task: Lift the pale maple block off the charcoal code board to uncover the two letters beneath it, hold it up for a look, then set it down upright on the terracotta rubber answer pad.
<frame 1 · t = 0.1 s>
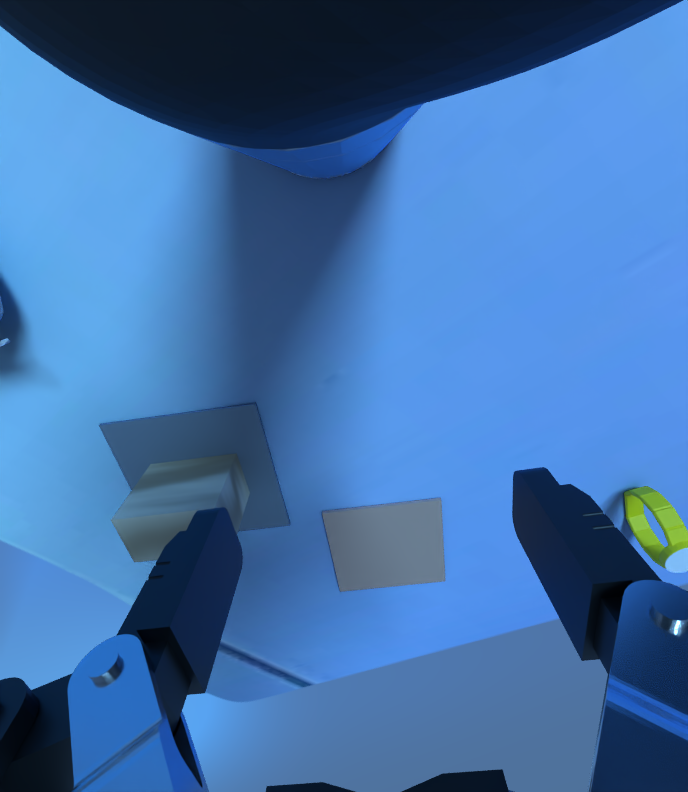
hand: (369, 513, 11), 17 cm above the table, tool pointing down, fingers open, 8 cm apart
watch: (631, 501, 34), on the table
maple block: (201, 478, 32), resting on code board
answer pad: (386, 546, 36), on the table
code board: (202, 477, 32), on the table
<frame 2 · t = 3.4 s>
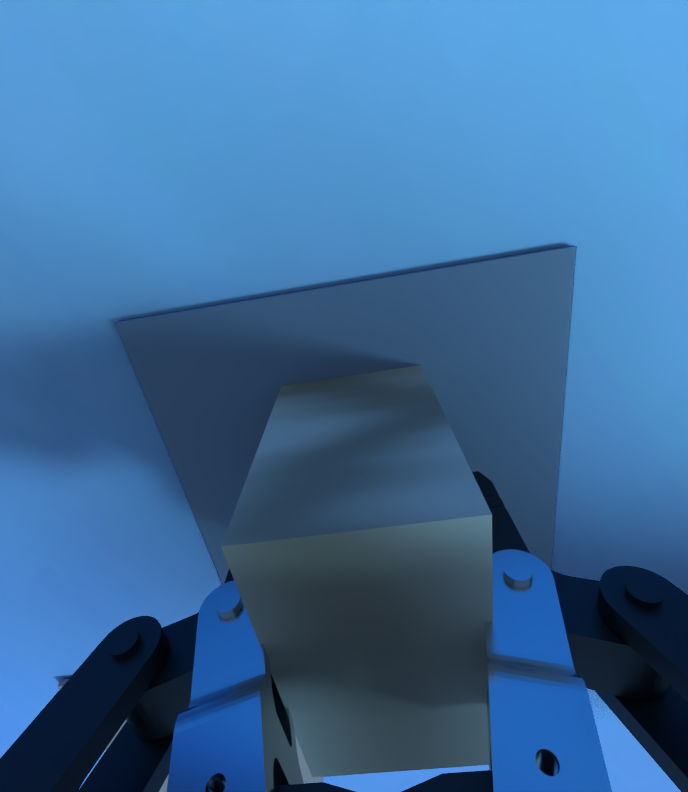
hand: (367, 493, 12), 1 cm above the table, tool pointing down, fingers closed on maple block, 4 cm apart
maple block: (367, 475, 13), resting on code board, touching gripper
answer pad: (204, 730, 19), on the table
code board: (367, 472, 13), on the table
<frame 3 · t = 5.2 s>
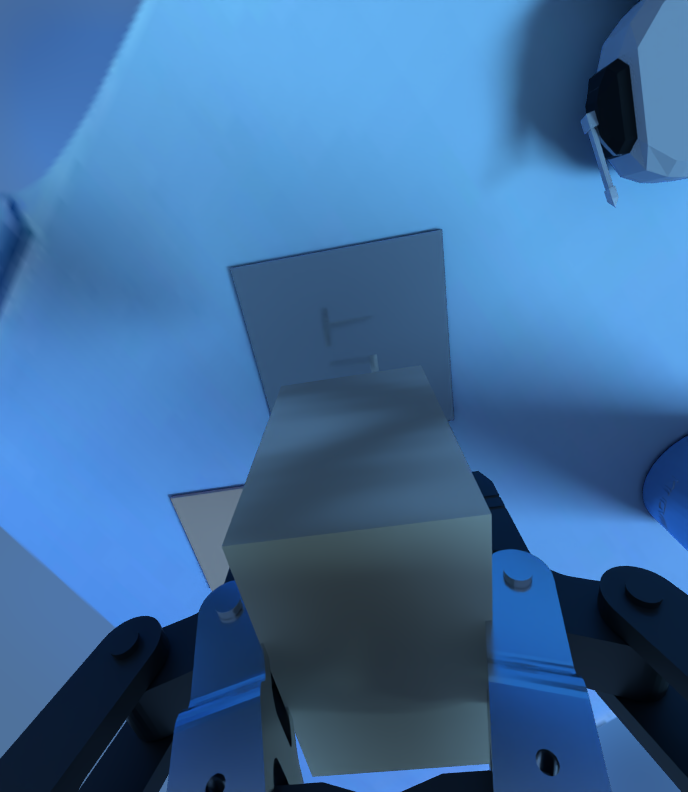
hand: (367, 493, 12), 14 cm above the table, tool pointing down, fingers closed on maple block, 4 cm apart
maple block: (367, 475, 13), point 13 cm above the table, touching gripper
robot toy: (676, 0, 18), on the table
answer pad: (254, 537, 31), on the table
code board: (351, 349, 25), on the table
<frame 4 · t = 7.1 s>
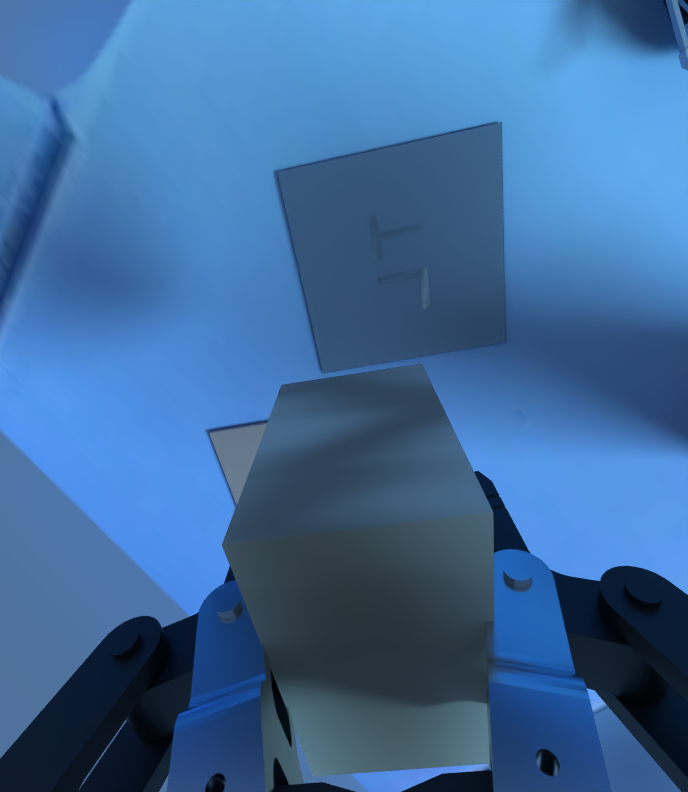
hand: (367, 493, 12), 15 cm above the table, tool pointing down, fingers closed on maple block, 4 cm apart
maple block: (367, 475, 13), point 14 cm above the table, touching gripper
answer pad: (293, 476, 30), on the table
code board: (400, 263, 24), on the table
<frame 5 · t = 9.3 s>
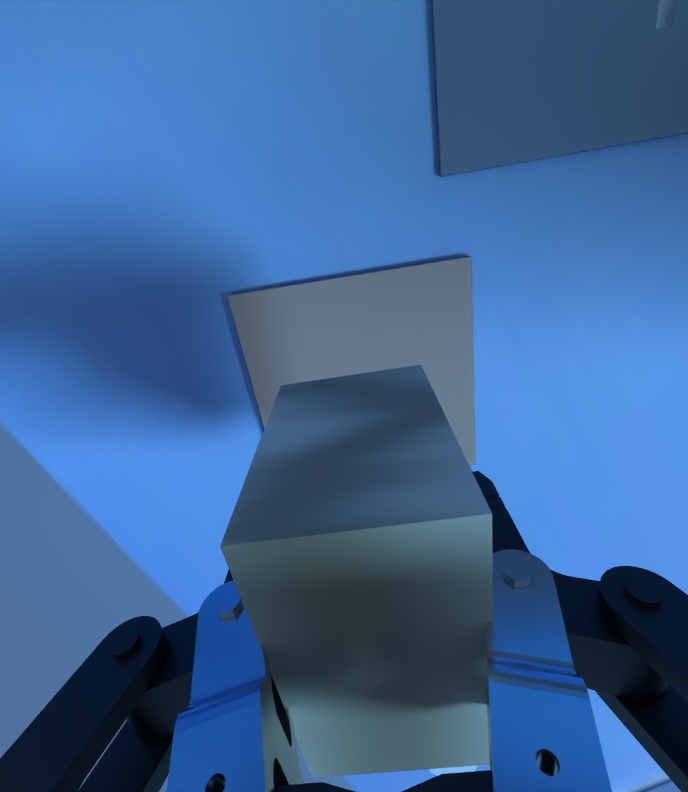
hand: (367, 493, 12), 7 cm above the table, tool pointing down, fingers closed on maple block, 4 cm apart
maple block: (367, 475, 13), point 7 cm above the table, touching gripper
answer pad: (362, 385, 19), on the table
when the fingers open (3 cm above the table, at t = 11.0 s): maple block drops 1 cm, resting on answer pad.
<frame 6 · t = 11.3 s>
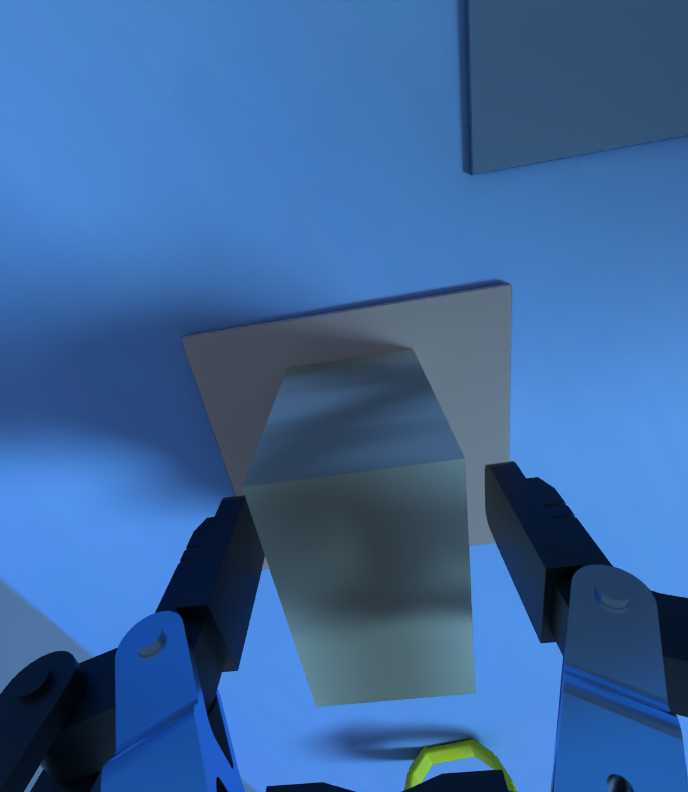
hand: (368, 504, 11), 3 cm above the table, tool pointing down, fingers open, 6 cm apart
watch: (449, 744, 23), on the table
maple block: (365, 451, 14), resting on answer pad
answer pad: (364, 447, 14), on the table
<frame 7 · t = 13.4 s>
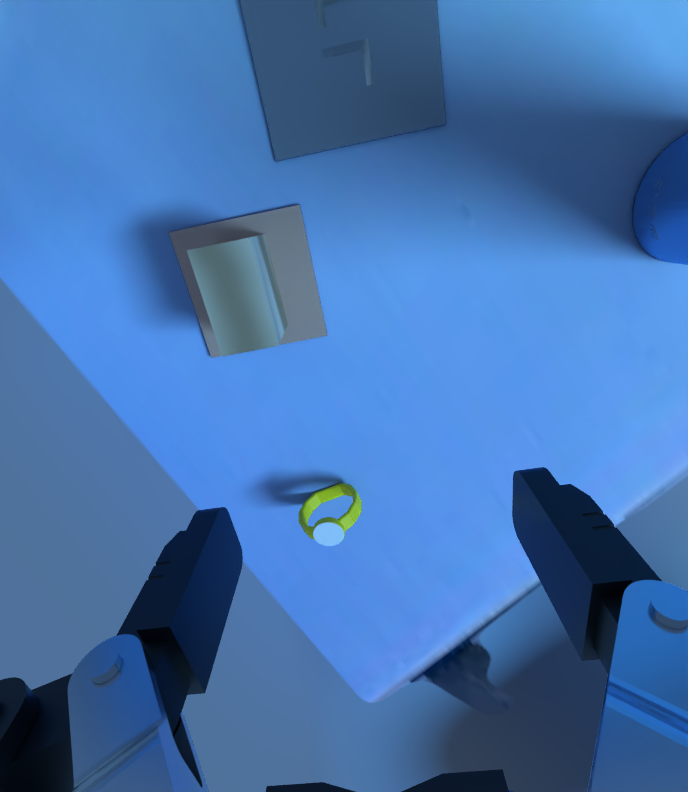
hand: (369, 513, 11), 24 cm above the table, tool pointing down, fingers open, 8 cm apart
watch: (330, 491, 40), on the table
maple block: (252, 286, 31), resting on answer pad
answer pad: (252, 286, 32), on the table
code board: (343, 35, 25), on the table
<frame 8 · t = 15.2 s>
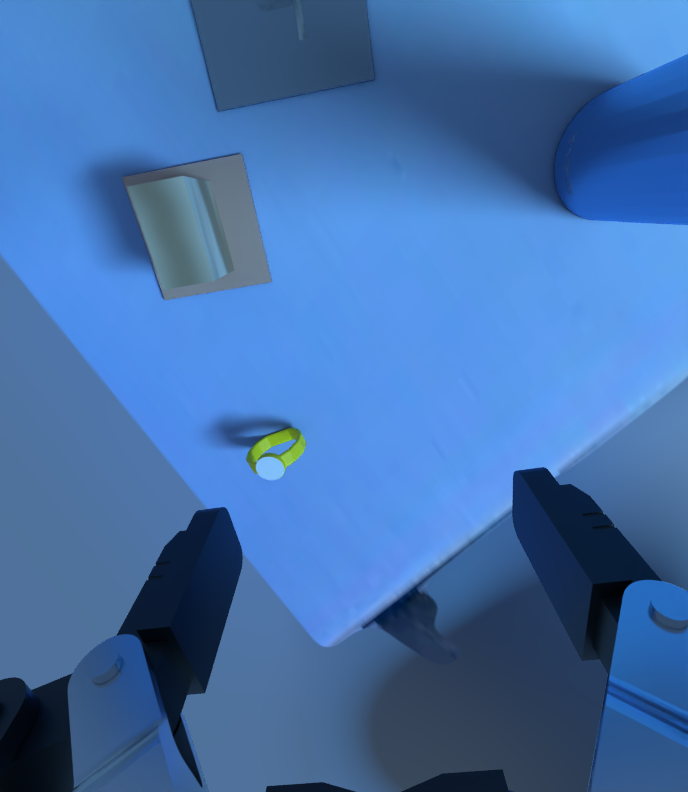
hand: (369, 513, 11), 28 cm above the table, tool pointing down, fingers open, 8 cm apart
watch: (280, 435, 43), on the table
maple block: (200, 231, 34), resting on answer pad
answer pad: (201, 232, 34), on the table
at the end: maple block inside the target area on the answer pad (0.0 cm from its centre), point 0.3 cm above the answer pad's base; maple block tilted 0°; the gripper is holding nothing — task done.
